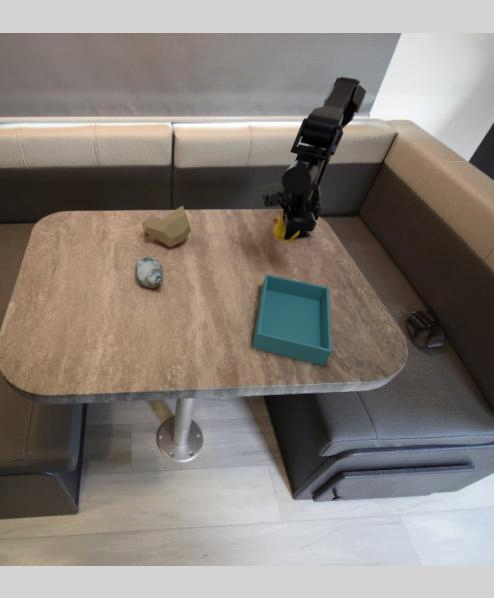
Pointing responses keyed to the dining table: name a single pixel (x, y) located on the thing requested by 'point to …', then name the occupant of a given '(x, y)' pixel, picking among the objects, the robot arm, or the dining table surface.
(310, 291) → the teal tray
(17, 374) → the dining table surface
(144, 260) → the seashell
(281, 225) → the duck
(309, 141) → the robot arm
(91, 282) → the dining table surface
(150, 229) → the tan rock
